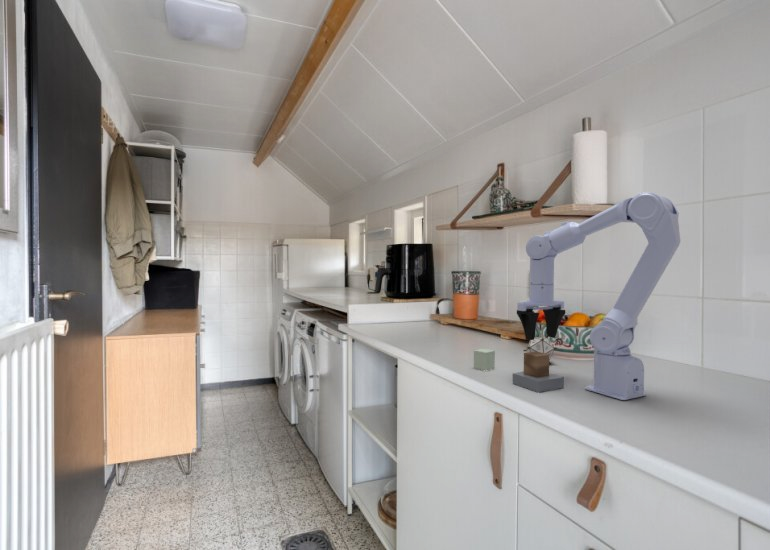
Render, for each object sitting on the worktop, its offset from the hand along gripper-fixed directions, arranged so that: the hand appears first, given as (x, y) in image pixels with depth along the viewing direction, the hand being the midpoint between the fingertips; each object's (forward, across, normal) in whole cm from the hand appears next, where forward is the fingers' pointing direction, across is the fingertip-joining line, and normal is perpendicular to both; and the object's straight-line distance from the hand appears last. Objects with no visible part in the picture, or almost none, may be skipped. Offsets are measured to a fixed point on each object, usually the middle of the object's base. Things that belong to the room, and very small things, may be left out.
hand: (540, 338), depth 108 cm
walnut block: (+7, +7, +5) cm, 11 cm away
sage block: (+10, +6, -14) cm, 18 cm away
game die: (+10, -13, -12) cm, 20 cm away
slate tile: (+10, +6, +5) cm, 13 cm away
